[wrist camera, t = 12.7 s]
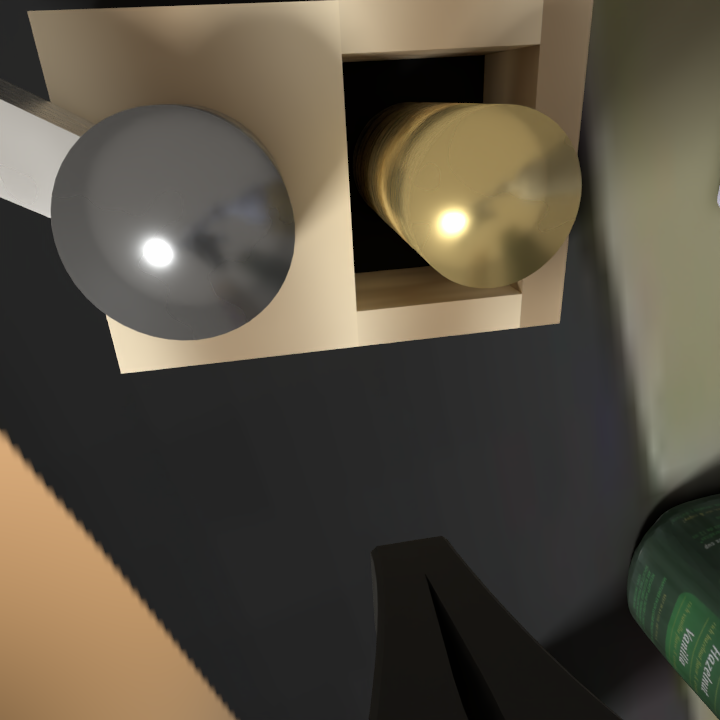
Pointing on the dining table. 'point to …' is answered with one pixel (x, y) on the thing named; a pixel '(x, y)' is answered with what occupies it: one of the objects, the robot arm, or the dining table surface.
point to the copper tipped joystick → (153, 210)
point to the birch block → (322, 142)
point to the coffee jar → (682, 593)
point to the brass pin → (471, 186)
